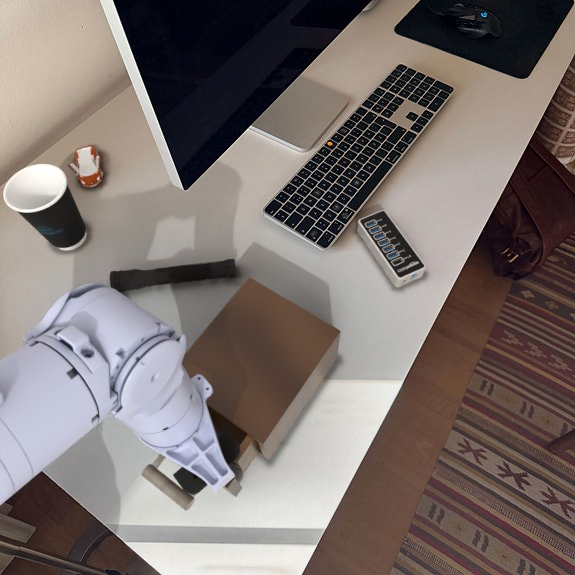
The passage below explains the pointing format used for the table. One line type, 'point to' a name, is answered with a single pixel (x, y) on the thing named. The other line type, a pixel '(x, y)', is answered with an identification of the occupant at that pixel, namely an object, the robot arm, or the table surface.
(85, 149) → the toy car
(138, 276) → the flashlight
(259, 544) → the table surface
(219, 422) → the drawer
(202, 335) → the cabinet
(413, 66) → the table surface
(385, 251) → the multiport hub
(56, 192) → the dixie cup
